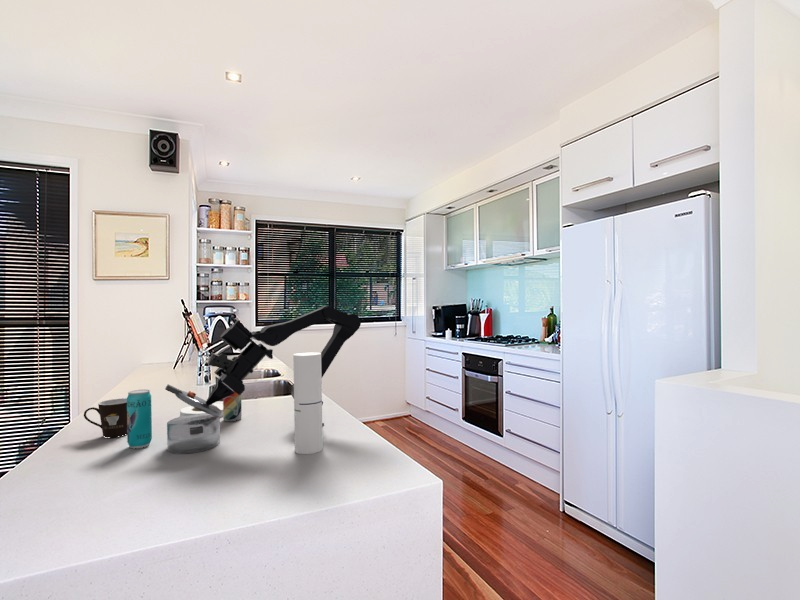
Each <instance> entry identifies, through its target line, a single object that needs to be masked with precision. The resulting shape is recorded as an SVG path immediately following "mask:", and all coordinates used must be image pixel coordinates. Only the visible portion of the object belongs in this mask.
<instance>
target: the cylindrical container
mask: <svg viewBox="0 0 800 600" xmlns="http://www.w3.org/2000/svg"><path fill="white" fill-rule="evenodd" d="M292 355H293V384H294V399H293V410H294V413H293V417H294V422H293V423H294V425H293V426H294V452H295V453H296V454H298V455H299V454H300V455H313V454H317V453H319V452H321V451H323V447H324V446H323V445H324V444H323V438H324V437H323V426H322V423H323V405H322V401H323V393H322V391H323V389H322V385H323V384H322V382H323V381H322V380H323V377H322V373H321V352H311V351H310V352H300V353H299V352H298V353H293V354H292Z"/></svg>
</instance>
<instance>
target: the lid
mask: <svg viewBox="0 0 800 600" xmlns="http://www.w3.org/2000/svg"><path fill="white" fill-rule="evenodd" d="M164 389H165V390H166V391H168V392H170V393H172V394H174V395H175V396H176V398H177V399H179V400H181V401H182V402H183V403H185V404H187V405H188V406H192V407H194V408H196V409H198V410H201V411H203V412H205V413H208V414H210V415H213V416H217V417H219V416H220V415H221V413H222V411H221V410H220V409H219V408H217V407H216V406H214V405H212V404H211V405H207V404H206V403H205V402H206V401H207V400H205V399H204V398H201V397H199V396H197V393H195V392H194V391H191V390H188V392H187V391H184V390H181V389H180V388H177V387H175V386H173V385H170V384H167V385H166V386H165V388H164Z"/></svg>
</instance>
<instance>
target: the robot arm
mask: <svg viewBox="0 0 800 600" xmlns="http://www.w3.org/2000/svg"><path fill="white" fill-rule="evenodd" d="M324 320H327V321H329V322H330V323H332V324H334V326H333V332H332V335H331V337H330V338H329V339H328V341H327V343H326V345H325V346H324V348H323V349H322V350H321V352H320V353H321V373H322V378H323V377H324V376H325V374H326V372H327V371H328V370H329V368H330V366H331V364H332V363H333V361H334V359H335V358H336V356H338V355H337V354H338V353H339V352H340V350H341V349H342V347H343V345H344V343H345V342H347V340H349V339H350V338H351V337H353V336H354V334H356V332H357V331H358V330H359V329H360V327H361V324H362V322H361V319H360V317H359V316H358V315H357V314H355V313H347V312H344V311H341V310H339V309H336V308H334V307H332V306H330V305H322V306H320V307H319V308H317V309H315V310H311V311H310V312H307V313H305V314H303V315H299V316H297V317H295V318H293V319H291V320H289V321H285V322H284V321H283V322H279V323H275V324H270V325H266V326H263V327H262V328H261V329H260V330H257V331H250V329H248V328H247V327H245V325H244V324H243V323H242V322H241V321H240V320H236V321H235V322H234V323H233V324H231V325H230V326H229V327H227V328H226V329H225V330H224V331H223V332H222V333H221V335H220V339H221V340H222V341H223V342H225V343H226V344H227V345H228V346H229V347H231V349H233V350H234V351H237V350H240V351H241V352H240V353H239V354H238V355H237V356H233V357H232V358H228V355H227V354H224V353H220V354H216V353H214V352H211V354H210V357H209V359H208V361H207V364H208V366H211V367H217V368H216V370H215V371H214V374H215V375H217V376H218V377H217V376H215V377H214V379H215V385H214V387H213V389H212V390H211V392H210V394H209V395H208V397H207V399H206V400H205V401H206V402H205V403H206V404H207V405H211V404H213V403H218V402H219V401H221V400H223V398H225V397H227V396H230V395H232V394H235V392H236V393H237V394H238V395H241V396H242V394H243V393H244V392H245V389H246V385H245V384H244V380H245V379H246V378H247V376H249V375H250V374H253V372H254V369H255V367H257V366H258V364H260V362H261V361H262V360H263V359H264V358H265V357H267V358H268V359H270V360H273V358H274V356H273V350H274V349H272V348H269V349H268V348H267V347H266V346H270V347H276V346H279V344H281V343H283V342H284V341H286V340H287V339H288V338H289V337H291V336H292V335H294V334H295V333H297V332H300V331H302V330H304V329H306V328H309V327H311V326H314V325H317V324H318V323H320V322H322V321H324ZM254 340H255V341H258V342H261V343H256V342H254ZM263 344H264V345H266V346H264V345H263ZM291 387H292V389H291V392H290V393H291V397H292V400H294V383H293V384H291ZM233 390H234V391H235V392H234V391H233ZM323 404H324V402H323V400H322V406H324V405H323ZM323 426H325V423H324V422H322V427H323Z"/></svg>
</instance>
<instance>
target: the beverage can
mask: <svg viewBox="0 0 800 600" xmlns="http://www.w3.org/2000/svg"><path fill="white" fill-rule="evenodd" d="M127 394H128V395H127V397H126V398H127V435H126V437H127V438H126V439H127V440H126V442H127V445H128V446H129V448H130V449H131V448H133V449H132V450H136V449H135V448H140V449H144V448H147V447H148V445H149V446H150V445H151V442H152V439H153V438H152V437H153V435H152V434H153V431H152V429H153V424H152V422H153V420H152V419H153V418H152V416H153V415H152V395H151V390H150V389H137V390H131V391H128V392H127ZM146 446H147V447H146ZM143 447H144V448H143Z"/></svg>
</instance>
